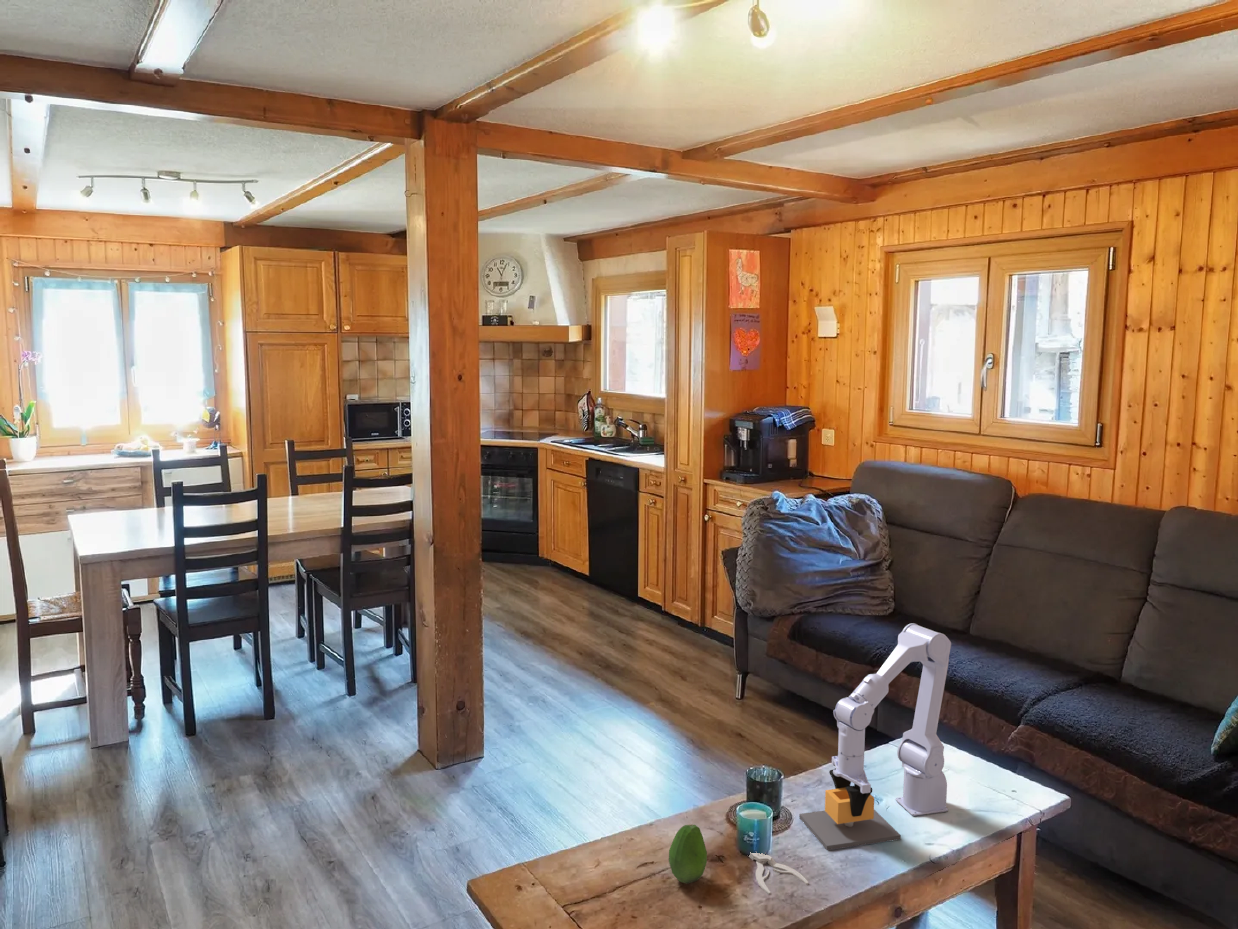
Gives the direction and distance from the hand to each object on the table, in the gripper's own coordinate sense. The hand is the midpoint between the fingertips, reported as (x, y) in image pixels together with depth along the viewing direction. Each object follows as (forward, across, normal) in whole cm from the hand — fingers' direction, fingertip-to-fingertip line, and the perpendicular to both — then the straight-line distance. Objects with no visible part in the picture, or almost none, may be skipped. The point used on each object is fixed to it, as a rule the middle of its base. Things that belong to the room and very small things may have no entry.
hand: (849, 808), depth 203 cm
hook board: (+5, 0, 0) cm, 5 cm away
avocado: (+5, +10, -42) cm, 43 cm away
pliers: (+6, +11, -24) cm, 27 cm away
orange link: (+2, 0, 0) cm, 2 cm away
